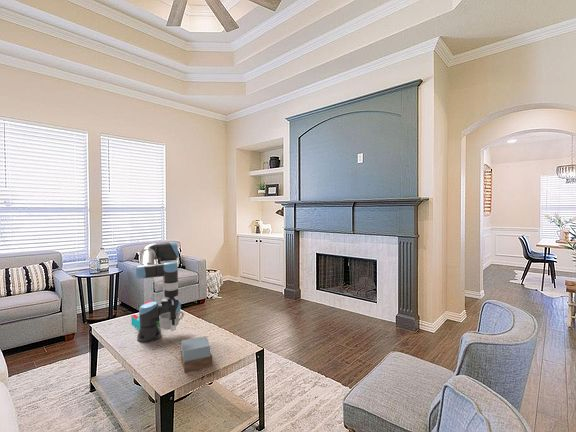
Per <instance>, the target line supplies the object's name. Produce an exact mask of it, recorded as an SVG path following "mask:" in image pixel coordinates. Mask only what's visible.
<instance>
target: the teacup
mask: <svg viewBox="0 0 576 432" xmlns="http://www.w3.org/2000/svg"><path fill="white" fill-rule="evenodd" d="M179 314H180V315H181V316H179ZM184 316H185V314H184V312H183V311H181V310H180V312H176V327H177V326H178V325H179V323H180V321H181V320H182V319H183V318H184ZM169 319H171V314H170V312H167V313H163V314H161V315H160V316H159V320H160V325H159V327H160V329H163V330H166V331H167V330H171V321H170V320H169Z"/></svg>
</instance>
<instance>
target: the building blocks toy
mask: <svg viewBox="0 0 576 432" xmlns="http://www.w3.org/2000/svg"><path fill="white" fill-rule="evenodd" d="M149 302H153V301H152V300H148V301H143V305H144V304H146V303H149ZM130 317H131V320H130V321H131V325H133V326H134V327H135V328H136V327H137V328H136V329H138V330H139V329H140V317H139V316H137V315H136V314H132V315H131V316H130ZM158 325H159V326H160V321H158Z"/></svg>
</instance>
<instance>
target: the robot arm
mask: <svg viewBox="0 0 576 432" xmlns="http://www.w3.org/2000/svg"><path fill="white" fill-rule="evenodd" d="M178 248H179V247H178V244H177V243H176V242H174V241H173V242H172V241H169V242H168V241H167V242H155V243H150V244H148V245H146V246H145V247H143V248H142V249H141V251H140V254H139V258H140V259H141V260H140V265H138V266H136V269H135V273H136V275H135V276H136V279H139V280H140V279H148V278H149V279H152V278H160V277H162V294H163V295H162V299H161V300H160V303H158V301H152V302H149V303H146V304H144V303H143V304H142V305H140V306H139V308H138V309H139V310H138V311H139V312H138V315H139V316H138V317H140V329H138V332H137V335H136V336H137V337H136V339H137V341H138V342H139V343H148V342H152V341H156V340H158V339H160V338H161V337H162V330H161V327H160V325H158V321H160V320H159V316H160V315H161V314H163V313H167V312H170V314H171V319H169V320H170V321H171V329H170V331H171V332H174V331H177V326H176V312H180V311H181V306H182V302H181V300H179V298H178V296H179V272H178V271H179V266H178V262H177V261H178V259H179V258H180V255H179V249H178ZM155 260H159V264H158V263H156V264H155ZM180 315H181V313H180V314H179V317H181V316H180Z"/></svg>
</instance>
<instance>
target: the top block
mask: <svg viewBox="0 0 576 432" xmlns="http://www.w3.org/2000/svg"><path fill="white" fill-rule="evenodd" d="M180 342H181V351H182V354H183V359H184V362H186V361H191V360H196V359H200V358H205V357H209V356H210V353H211V344H210V343H209V340H208V338H207V336H199V337H195V338H194V337H193V338H189V339H184V340H183V339H182V340H181V341H180Z"/></svg>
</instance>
